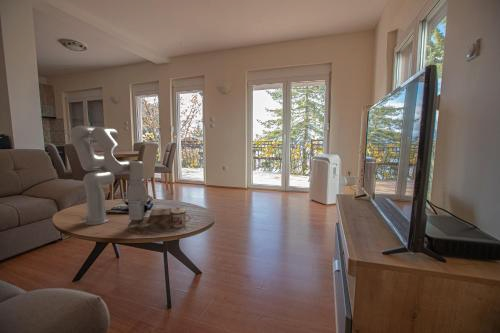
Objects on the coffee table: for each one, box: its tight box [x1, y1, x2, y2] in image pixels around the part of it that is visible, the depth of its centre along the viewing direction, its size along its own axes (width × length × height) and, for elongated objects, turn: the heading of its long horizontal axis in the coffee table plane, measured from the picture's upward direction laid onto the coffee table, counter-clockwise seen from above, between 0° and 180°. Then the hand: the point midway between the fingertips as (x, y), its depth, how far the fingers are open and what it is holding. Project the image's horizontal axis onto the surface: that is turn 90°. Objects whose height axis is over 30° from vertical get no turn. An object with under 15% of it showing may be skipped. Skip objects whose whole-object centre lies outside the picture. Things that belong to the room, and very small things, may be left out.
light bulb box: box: [127, 200, 148, 221], centre depth 137 cm, size 11×7×11 cm, turn 4°
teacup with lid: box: [171, 205, 191, 229], centre depth 143 cm, size 12×9×12 cm
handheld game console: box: [148, 202, 154, 211], centre depth 179 cm, size 16×13×9 cm
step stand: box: [128, 207, 172, 236], centre depth 138 cm, size 22×17×9 cm
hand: (138, 212), depth 138 cm, fingers closed on light bulb box, 7 cm apart
